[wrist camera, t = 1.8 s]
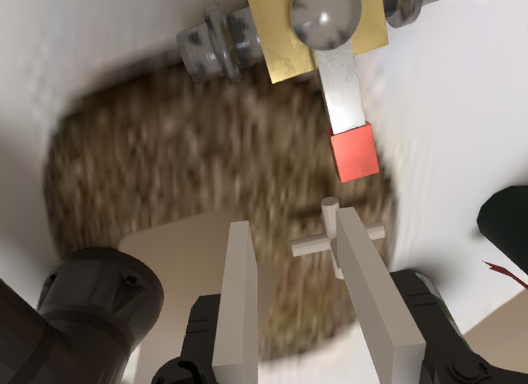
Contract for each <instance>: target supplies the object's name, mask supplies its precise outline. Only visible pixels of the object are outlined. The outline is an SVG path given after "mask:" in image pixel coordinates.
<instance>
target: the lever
mask: <svg viewBox="0 0 528 384" xmlns="http://www.w3.org/2000/svg"><path fill="white" fill-rule="evenodd" d="M361 11H362V4H361V0H292V2H291V5H290V12H289V18H290V25H291V28H292V31H293V33H294V35H295V36H296V38H297V39H298V40H299V41H300V42H301V43H302V44H304V45H305V46H307V47H309V48H311V49H312V53H313V57H314V62H315V66H316V70H317V74H318V79H319V83H320V87H321V92H322V96H323V100H324V104H325V109H326V113H327V117H328V122H329V126H330V129H328V130H326V131H327V136H328V140H329V144H330V148H331V152H332V156H333V161H334V165H335V169H336V173H337V175H338V177H339V179H340V181H341V183H343V182H346V181H350V180H353V179H357V178H360V177H364V176H367V175H370V174H374V173H377V172H379V169H378V163H377V157H376V152H375V146H374V140H373V134H372V129H371V124H370V123H369V122H367V121H366V120H365V117H364V112H363V106H362V100H361V95H360V89H359V84H358V78H357V73H356V67H355V62H354V56H353V51H352V45H351V39H350V38H351V36H352V35H353V34H354V32H355V31H356V29H357V27H358V24H359V21H360V18H361Z"/></svg>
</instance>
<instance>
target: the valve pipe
mask: <svg viewBox="0 0 528 384" xmlns="http://www.w3.org/2000/svg"><path fill="white" fill-rule="evenodd" d="M435 1H438V0H361V4H362V11H361V18H360V21H359V24H358V27H357V29H356V31H355V32H354V34H353V35H352V36H351V38H350V39H351V45H352V51H353V56H355V55H358V54H361V53H364V52H367V51H370V50H373V49H376V48H379V47H382V46H385V45H388V37H387V30H386V22H385V19H386V20H387V22H388V23H389V25H390V26H391V27H393V28H399V27H402V26H405V25H407V24H410V23H413V22H414V21H415V20H416V19H417V17H418V15H419V13H420V10H421V7H422V6H424V5H426V4H429V3H432V2H435ZM291 2H292V0H248V3H249V7H246V8H244V9H241V10H238V11H236V12H233V13H230V14H228V15H225V16H224V13H223V11H222V9H221V7H220V5H219V3H217V4H215V5H212V6H209V7H207V8H204V16H205V21H206V23H204V24H201V25H198V26H195V27H193V28H190V29H187V30H185V31H182V32H179V33H177V44H178V48H179V51H180V54H181V57H182V60H183V62H184V64H185V67H186V69H187V71H188V73H189V75H190V76H191V78H192V80H193V81H194V82H195V83H196V84H200V83H203V82H206V81H209V80H212V79H214V78H217V77H220V76H223V75H225V77H226V79H227V80H228V82H229V84H230V85H233V84H236V83H239V82H242V81H244V74H243V70H242V69H243V68H246V67H249V66H252V65H255V64H257V63H260V62H263V61H266V63H267V66H268V70H269V73H270V76H271V80H272V83H276V82H279V81H282V80H285V79H287V78H290V77H293V76H296V75H299V74H302V73H305V72H308V71H311V70H314V69H316V66H315V62H314V57H313V53H312V49H311V48H309V47H307V46H305V45H304V44H302V43H301V42H300V41H299V40H298V39H297V38H296V36H295V35H294V33H293V31H292V28H291V25H290V18H289V12H290V5H291Z"/></svg>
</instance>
